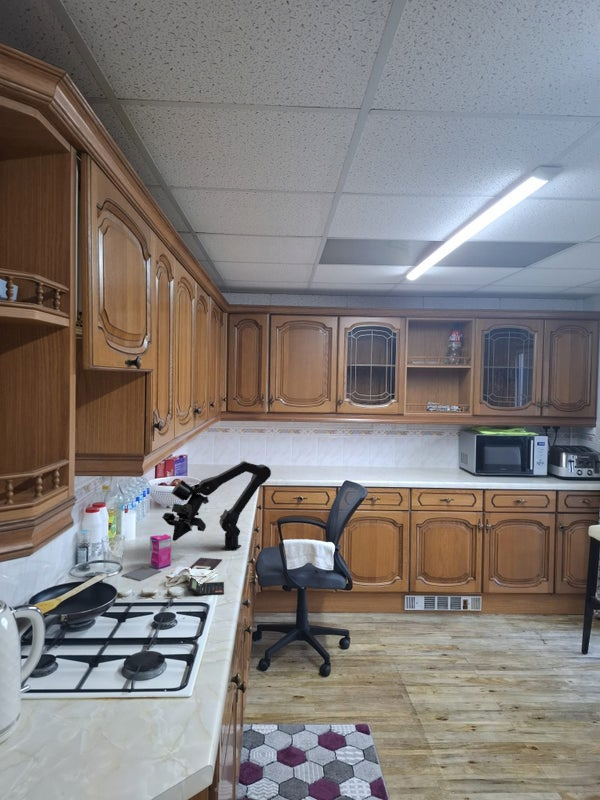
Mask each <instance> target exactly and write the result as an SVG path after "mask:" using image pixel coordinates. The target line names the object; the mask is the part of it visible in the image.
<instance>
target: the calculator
mask: <svg viewBox="0 0 600 800" xmlns="http://www.w3.org/2000/svg"><path fill="white" fill-rule="evenodd" d="M196 580H197V579H195V578H194V577H193V576H190V578H189V580H188V587H187V591H188V592H191V593H192V594H195V595H196V596H203V597H204V596H223V595H225V582H224V581H215V582H213V581H212V582H202V583H203V584H200V583H198V582H197V581H196Z"/></svg>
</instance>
